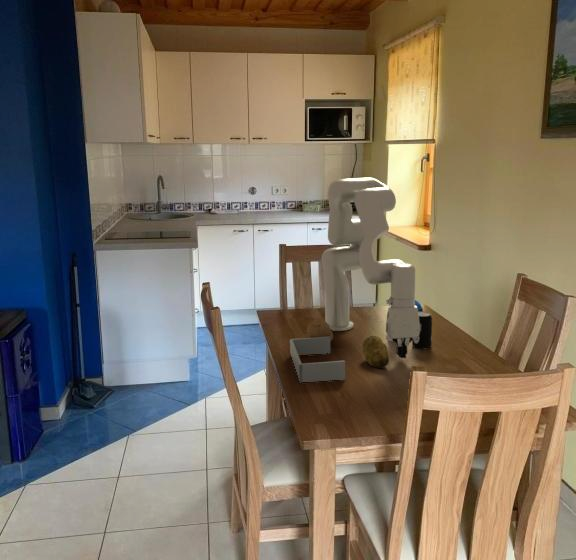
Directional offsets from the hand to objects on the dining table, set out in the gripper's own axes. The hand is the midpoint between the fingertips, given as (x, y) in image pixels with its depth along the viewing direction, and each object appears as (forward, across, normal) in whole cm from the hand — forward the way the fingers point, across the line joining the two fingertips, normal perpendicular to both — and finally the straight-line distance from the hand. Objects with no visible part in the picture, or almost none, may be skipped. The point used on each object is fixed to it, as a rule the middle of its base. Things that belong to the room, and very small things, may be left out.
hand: (401, 356), depth 183 cm
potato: (+2, -9, 0) cm, 9 cm away
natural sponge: (+2, -24, +20) cm, 31 cm away
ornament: (+2, +18, +43) cm, 47 cm away
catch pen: (+2, -28, 0) cm, 28 cm away
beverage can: (+2, +11, +12) cm, 16 cm away
